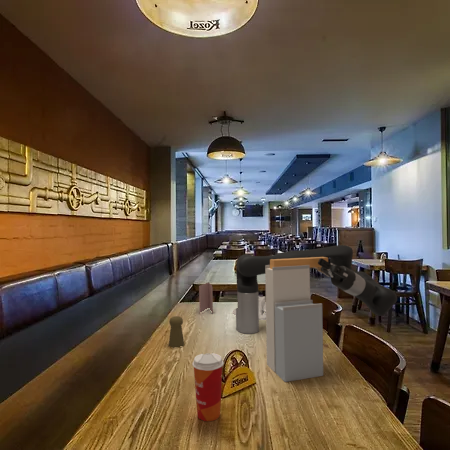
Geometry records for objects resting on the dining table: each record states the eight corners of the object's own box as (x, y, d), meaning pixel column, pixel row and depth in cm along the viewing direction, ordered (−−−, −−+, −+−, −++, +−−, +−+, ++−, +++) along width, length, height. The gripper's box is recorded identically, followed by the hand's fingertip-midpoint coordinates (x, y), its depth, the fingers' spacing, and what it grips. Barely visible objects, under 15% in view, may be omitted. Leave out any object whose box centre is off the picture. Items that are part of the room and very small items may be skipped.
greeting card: (207, 309, 185) (207, 282, 185) (219, 310, 182) (219, 282, 182) (198, 314, 175) (197, 285, 175) (211, 315, 172) (210, 286, 172)
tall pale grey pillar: (301, 359, 115) (300, 263, 115) (311, 366, 110) (309, 265, 109) (266, 364, 112) (265, 265, 111) (274, 372, 106) (273, 267, 106)
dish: (265, 323, 158) (264, 299, 158) (223, 315, 174) (222, 293, 174) (289, 312, 178) (288, 290, 178) (249, 305, 193) (249, 286, 193)
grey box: (312, 367, 109) (311, 299, 109) (323, 375, 103) (322, 303, 103) (275, 373, 105) (274, 302, 105) (284, 382, 99) (283, 307, 99)
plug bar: (323, 265, 116) (323, 256, 116) (328, 266, 113) (328, 257, 113) (270, 268, 110) (269, 259, 110) (273, 269, 107) (273, 260, 107)
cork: (181, 348, 127) (180, 319, 127) (166, 347, 129) (165, 318, 129) (186, 342, 133) (185, 315, 133) (171, 342, 134) (171, 314, 134)
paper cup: (193, 407, 86) (192, 352, 86) (223, 405, 87) (222, 351, 87) (192, 425, 78) (192, 365, 78) (225, 423, 79) (224, 363, 79)
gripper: (340, 268, 125) (306, 248, 121) (366, 274, 111) (329, 251, 107) (331, 287, 124) (297, 267, 119) (357, 294, 110) (319, 272, 106)
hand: (312, 259), depth 113 cm, fingers open, 8 cm apart
